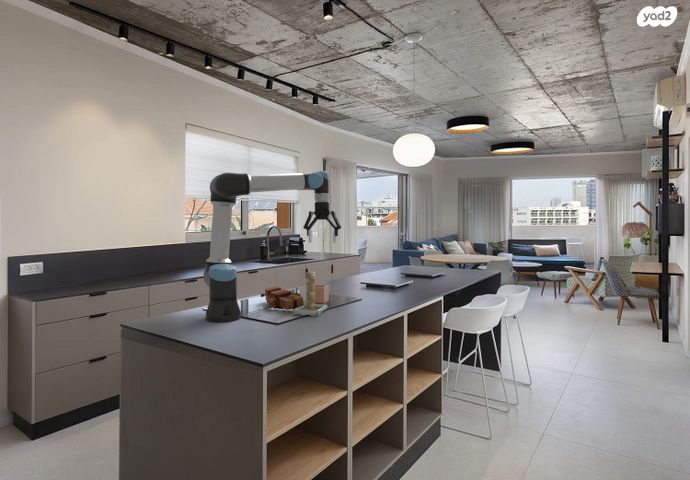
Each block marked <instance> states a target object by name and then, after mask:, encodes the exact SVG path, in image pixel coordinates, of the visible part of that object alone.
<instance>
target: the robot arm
mask: <svg viewBox="0 0 690 480" xmlns="http://www.w3.org/2000/svg"><path fill="white" fill-rule="evenodd" d="M292 190H293V191H294V190H295V191H314V211H312V210H309V211H308V216H307V217H306V220H305V222H304V225H303V229H305V230H306V236H307V237H308V243H310V244H311V243H313V233H312V232H313V231H312V227H313V226H314V225H315V223H317V222H318V221H319V220H326V221H327V222H328V223H329V224H330V226H331V227H332V228H333V230H332V243H333V244H335V243H337V237H338V236H339V230H340V229H342V226H341V224H340V221H339V219H338V216H337V215H336V211H335V210H332V211H331V210H330V176H329V172H328V171H325V170H321V171H319V170H318V171H312V172H303V173H301V172H300V173H280V174H279V173H278V174H277V173H275V174H259V175H258V174H257V175H256V174H255V175H250V174H248V173H235V172H223V173H220V174H217V175H216V176H214V177H213V178H212V179H211V181H210V183H209V191H210V200H209V203H210V204H211V205H212V220H211V222H212V223H211V233H210V246H209V247H210V249H209V250H210V251H209V257H208V258H207V259H206V260H205V269H204V271H203V276H202V277H203V281H204V283H205V284H206V286H207V287H208V291H209V292H208V293H209V297H208V298H209V301H208V305H207V308H206V312H205V320H206V321H207V322H212V323H214V322H215V323H223V322H227V323H228V322H232V321H237V320H239V319H241V318H242V312H241V308H240V306H239V303H238V298H237V297H238V296H237V295H238V291H237V290H238V289H237V282H238V281H237V277H238V276H237V275H238V272H237V267H236V266H235V265H232V260H231V259H230V258H229V257H230V247H231V246H230V245H231V244H230V242H231V230H232V220H233V219H232V217H233V216H232V215H233V208H234V207H235V206H236V204H237V197H241V196H250V195H251V193H262V192H266V193H267V192H277V191H292ZM330 215H331V217H332V219H333V220H334V221H333V220H332V219H331V217H330ZM313 216H314V217H313ZM312 218H313V220H312ZM311 220H312V221H311Z"/></svg>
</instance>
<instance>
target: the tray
mask: <svg viewBox="0 0 690 480" xmlns="http://www.w3.org/2000/svg"><path fill="white" fill-rule="evenodd" d="M328 307H329V305H328V304H320V303H315V308H319V309H317V310H316V309H315V311H311V310H306V309H304V308H306V303H304V305H303V306H300V307H297V308H296V307H294V309H292V315H293V314H308V315H311V316H310V317H320V316H321V315H322V314H323V313H325V312H326V311H325V310H327V309H328Z"/></svg>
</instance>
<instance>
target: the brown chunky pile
mask: <svg viewBox="0 0 690 480" xmlns="http://www.w3.org/2000/svg"><path fill="white" fill-rule="evenodd" d="M298 289H299V288H298V287H296V290H295V292H293V291H290V290H288V289H285V288H281V287H280V286H277V285H276V286H273V287H267V288H265V289H264V292H263V293H260V297H261V298H265V301H266V303H267V304H268V306H269V307H271V308H272V309H274V308H276V307H278V308H282V309H284V310H286V311H288V310H294V309H295V308H297V307H300V306H303V305H304V304H305V301H304V299H303V296H301V295H302V294H301V293H300V292H299V293H298Z"/></svg>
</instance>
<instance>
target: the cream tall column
mask: <svg viewBox="0 0 690 480" xmlns="http://www.w3.org/2000/svg"><path fill="white" fill-rule="evenodd" d="M305 278H306V285H305V286H306V289H305V291H306V294H305V295H306V303H305V304H306V307H305V308H306V309H305V310H311V311H315V310H316V307H315V304H316V303H315V285H316V272H315V271H306V277H305Z"/></svg>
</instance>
